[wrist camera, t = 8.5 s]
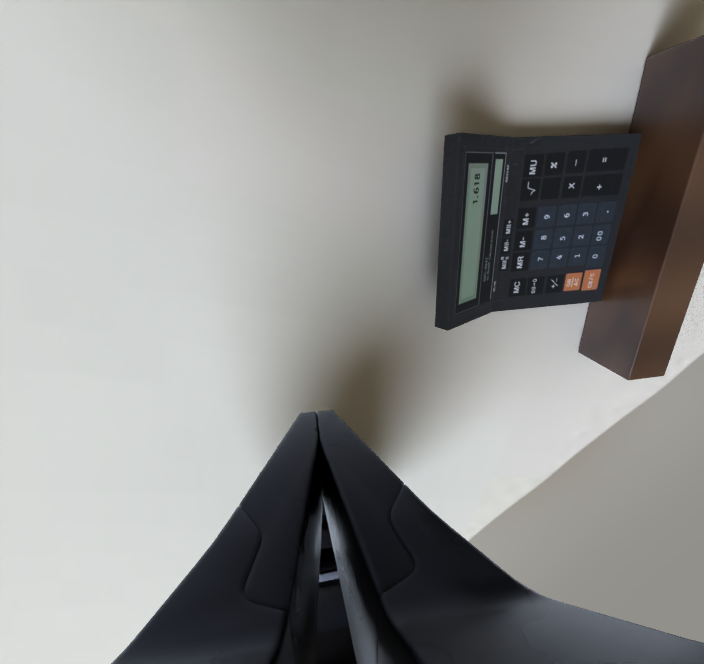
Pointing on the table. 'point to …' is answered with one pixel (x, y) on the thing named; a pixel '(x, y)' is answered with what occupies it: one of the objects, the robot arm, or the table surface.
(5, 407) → the table surface
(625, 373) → the rail
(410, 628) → the robot arm
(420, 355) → the table surface
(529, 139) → the calculator
